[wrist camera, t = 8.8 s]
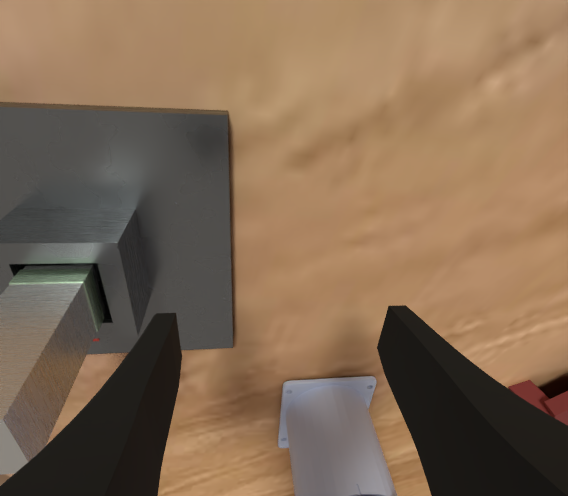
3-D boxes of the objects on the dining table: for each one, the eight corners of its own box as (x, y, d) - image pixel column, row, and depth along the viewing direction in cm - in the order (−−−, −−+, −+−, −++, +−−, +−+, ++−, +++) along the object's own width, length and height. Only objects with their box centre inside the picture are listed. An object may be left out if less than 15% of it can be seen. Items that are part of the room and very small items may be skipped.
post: (106, 312, 19) (36, 472, 12) (43, 314, 19) (-66, 480, 12) (94, 263, 17) (4, 418, 11) (24, 264, 17) (-115, 425, 10)
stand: (233, 337, 27) (232, 390, 23) (-4, 347, 25) (-47, 406, 21) (227, 110, 18) (225, 134, 14) (-134, 96, 16) (-247, 120, 12)
